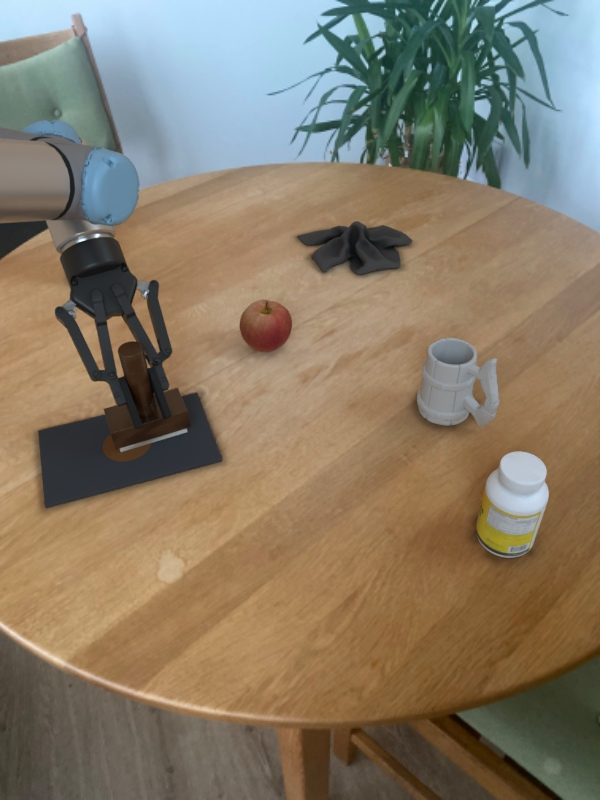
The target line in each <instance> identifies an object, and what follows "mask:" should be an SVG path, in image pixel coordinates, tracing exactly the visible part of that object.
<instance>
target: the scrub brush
mask: <svg viewBox="0 0 600 800" xmlns="http://www.w3.org/2000/svg"><path fill="white" fill-rule="evenodd" d="M117 355H118V358H119V362H120V366H121V369H122V374H123V376H125V379H126V382H127V384H128V387H129V390H130V393H131V395H132V398H133V401H134V403H135V406H136V409H137V411H138V414H139V417H140V419H141V422H142V425H143V426H142V427H141V428H139V429H136V430H135V428H134V425H133V422H132V419H131V417H130V414H129V411H128V409H127V406H126V404H125V405H122V406H118V405H117V404H115V405H111V406H109V407H105V408H103V413H104V415H105V416H106V419H107V423H108V426H109V429H110V433H111V436H112V439H113V443H114V446H115V449H116V450H117V449H120V452H123V451H127V450H130V449H133V448H137V447H140V446H143V445H147V444H150V443H153V442H157V441H160V440H163V439H167V438H170V437H173V436H176V435H180V434H183V433H186V432H188V431H187V428H190V427H191V425H190V419H189V414H188V410H187V408H186V405H185V403H184V401H183V399H182V396H183V395H182V393H181V391H180V389H179V387H175V388H172V389H168V390H166V391H163V393H164V396H165V398H166V401H167V404H168V406H169V409H170V412H171V415H172V416H171V417H169V418H167V419H163V417H162V414H161V411H160V409H159V406H158V403H157V400H156V398H155V395H154V392H153V388H152V384H151V379H150V375H149V371H148V368H149V367H148V362H147V360H146V358H145V354H144V349H143V346H142V344H141V343H139V342H136V340H133V341H131V340H130V341H126V342H124V343H122V344H121V345H119V347H118V348H117Z"/></svg>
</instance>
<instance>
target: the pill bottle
mask: <svg viewBox="0 0 600 800" xmlns="http://www.w3.org/2000/svg"><path fill="white" fill-rule="evenodd" d="M547 474H548V471H547V467H546V464H545V463H544V462H543V460H541V458H539V457H538V456H536V455H534V454H533V453H530V452H527V451H520V450H519V451H511V452H508V453H506V454H505V455H503V456H502V457H501V459H500V461H499V465H498V468H496V469H495V470H493V471H492V472H491V473H490V474H489V475H488V477H487V480H486V482H485V484H484V485H485V486H484V491H483V493H482V499H481V503H480V507H479V512H478V515H477V516H478V517H477V520H476V526H475V533H476V537H477V540H478V542H479V544H480V545H481V546H482V547H483V548H484V549H485V550H487V551H488V553H489V552H490V553H491V554H493V555H495V556H498V557H501V558H508V559H510V558H518V557H521V556H524V555H525V554H527V553H529V551H530V550H531V549H532V548H533V546H534V544H535V542H536V541H535V540H536V537H537V534H538V532H539V529H540V526H541V522H542V521H543V517H544V514H545V511H546V508H547V506H548V501H549V498H550V496H549V495H550V492H549V487H548V484H547V483H546V477H547Z"/></svg>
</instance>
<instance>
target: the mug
mask: <svg viewBox="0 0 600 800" xmlns="http://www.w3.org/2000/svg"><path fill="white" fill-rule="evenodd" d="M477 351H478V350H477V349H476V348H475V346H474V345H473V344H472V343H470V342H468V341H466V340H463V339H461V338H457V337H446V338H445V337H444V338H439V339H437V340H436V341H433V342H432V343H430V344H429V346H428V347H427V350H426V357H425V360H424V362H423V365H422V369H421V377H422V379H421V383H420V384H421V385H420V387H419V389H418V390H417V393H416V404H417V409H418V412H419V414H420V415H421V416H422V417H423V418H424V419H426V420H427V421H428V422H430V423H432V424H436V425H439V426H440V425H441V426H447V427H449V426H455V425H458V424H461V423H463V422H464V421H465V420H467V418H469V416H470V414H471V415H472V417H473V418H474V420H475V423H476V424H477V425H478V427H479V428H481V429H483V428H484V427H485V426H486V425H488V424H489V423H492V421H493V420H494V419H496V418H495V417H496V416H497V412H498V409H499V406H500V398H499V397H500V393H499V385H498V374H497V364H498V358H496V357H494V358H491V359H487V360H486V361H485V362H483V363H482V365H481V366H478V365H477V362H478V352H477ZM477 379H478V380H479V383H480V385H481V389H482V391H483V393H484V395H485V397H484V401H483V404H480V403H479V402H478V401H477V400H476V399H475V398H474V394H473V393H474V391H473V390H474V384H475V382H476V381H477Z"/></svg>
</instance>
